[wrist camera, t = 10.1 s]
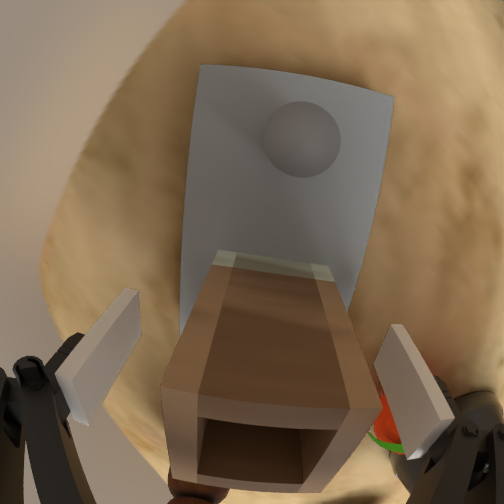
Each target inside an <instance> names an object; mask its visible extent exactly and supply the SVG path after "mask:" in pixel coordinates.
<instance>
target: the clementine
mask: <svg viewBox="0 0 504 504" xmlns="http://www.w3.org/2000/svg"><path fill="white" fill-rule="evenodd" d="M380 401H381V404H382V407H383V409H382V410H381V412H380V414H379V415H378V417H377V418H376V420H375V421H374V432H375V434H376V436H377V438H378V439H377V438H375V437H374V436H372V435H371V434H370V433H369V432H368V434H369V435H370V436H371V438H372V439H373V440H374V441H375V442H376V443H377V444H379V445H380V446H381V447H383V448H386V449H388V450H390V451H392V452H394V453H397V454H402V455H405V452H404V448H403V445H402V442H401V439H400V436H399V433H398V430H397V427H396V424H395V421H394V418H393V416H392V413H391V410H390V407H389V404H388V402H387V399H386V396H385V393H383V394H382V396H381V397H380Z"/></svg>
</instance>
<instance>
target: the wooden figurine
mask: <svg viewBox="0 0 504 504" xmlns="http://www.w3.org/2000/svg"><path fill="white" fill-rule="evenodd" d="M168 487H169V490H170V492H171V494H172V495H173V497H174V498H173V499H172V500H170V501H169V502H168V504H219V503H220V502H221V501H222V500H223V499H225V498H226V496H227V494H228V491H229V489H230V488H223V487H216V486H210V485H204V484H198V483H193V482H188V481H183V480H178V479H174V478H172V473H171V467H170V468H169V473H168Z"/></svg>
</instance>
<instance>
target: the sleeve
mask: <svg viewBox="0 0 504 504" xmlns="http://www.w3.org/2000/svg"><path fill="white" fill-rule="evenodd" d="M160 392H161V402H162V411H163V420H164V427H165V435H166V442H167V449H168V455H169V461H170V467H171V473H172V478H174V479H178V480H183V481H188V482H193V483H198V484H204V485H210V486H216V487H223V488H231V489H239V490H249V491H261V492H279V493H320V492H321V491H322V490H323V489H324V488H325V487H326V485H327V484H328V483H329V482H330V481H331V480H332V478H333V477H334V476H335V475H336V473H337V472H338V471H339V470H340V468H341V467H342V466H343V465H344V463H345V462H346V461H347V459H348V458H349V457H350V456H351V454H352V453H353V451H354V450H355V449H356V447H357V446H358V445H359V443H360V442H361V440H362V439H363V438H364V436H365V435H366V433H367V432H368V430H369V429H370V427H371V426H372V424H373V423H374V421H375V420H376V418H377V417H378V415H379V414H380V412H381V410H382V409H383V407H382V404H381V401H380V398H379V395H378V392H377V389H376V386H375V383H374V381H373V378H372V375H371V372H370V370H369V367H368V364H367V361H366V359H365V356H364V353H363V351H362V348H361V345H360V343H359V340H358V338H357V335H356V333H355V330H354V327H353V325H352V322H351V320H350V317H349V315H348V312H347V310H346V307H345V305H344V303H343V300H342V298H341V295H340V293H339V291H338V288H337V286H336V283H335V281H334V279H333V276H332V274H331V272H330V269H329V267H328V266H327V265H320V264H313V263H306V262H299V261H293V260H286V259H279V258H272V257H265V256H258V255H251V254H245V253H238V252H231V251H224V250H218V252H217V254H216V256H215V258H214V261H213V263H212V265H211V267H210V270H209V272H208V274H207V276H206V279H205V281H204V283H203V285H202V288H201V290H200V292H199V294H198V297H197V299H196V301H195V304H194V306H193V308H192V311H191V313H190V315H189V318H188V320H187V322H186V325H185V327H184V329H183V332H182V334H181V336H180V339H179V341H178V343H177V346H176V348H175V350H174V353H173V355H172V358H171V360H170V362H169V365H168V367H167V370H166V372H165V375H164V377H163V380H162V382H161V384H160Z"/></svg>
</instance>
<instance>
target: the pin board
mask: <svg viewBox="0 0 504 504" xmlns="http://www.w3.org/2000/svg"><path fill="white" fill-rule="evenodd" d="M393 103H394V97H393V96H389V95H386V94H383V93H379V92H376V91H372V90H369V89H365V88H362V87H358V86H354V85H350V84H346V83H341V82H337V81H333V80H328V79H323V78H318V77H313V76H308V75H302V74H296V73H290V72H284V71H277V70H269V69H261V68H252V67H241V66H228V65H211V64H201V65H200V71H199V77H198V84H197V91H196V98H195V105H194V113H193V120H192V129H191V137H190V146H189V156H188V166H187V176H186V188H185V200H184V214H183V230H182V249H181V273H180V319H179V336H181V334H182V332H183V329H184V327H185V325H186V322H187V320H188V318H189V315H190V313H191V311H192V308H193V306H194V304H195V301H196V299H197V297H198V294H199V292H200V290H201V288H202V285H203V283H204V281H205V279H206V276H207V274H208V272H209V270H210V267H211V265H212V263H213V261H214V258H215V256H216V254H217V252H218V250H224V251H231V252H238V253H245V254H251V255H258V256H265V257H272V258H279V259H286V260H293V261H299V262H306V263H313V264H320V265H327V266H328V267H329V269H330V272H331V274H332V276H333V279H334V281H335V283H336V286H337V288H338V291H339V293H340V295H341V298H342V300H343V303H344V305H345V307H346V310H347V312H348V310H349V306H350V303H351V300H352V297H353V293H354V290H355V287H356V283H357V280H358V277H359V273H360V269H361V266H362V262H363V258H364V255H365V251H366V247H367V243H368V239H369V235H370V231H371V227H372V223H373V218H374V214H375V210H376V205H377V200H378V196H379V191H380V186H381V181H382V175H383V170H384V165H385V159H386V153H387V147H388V140H389V134H390V127H391V120H392V112H393Z"/></svg>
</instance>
